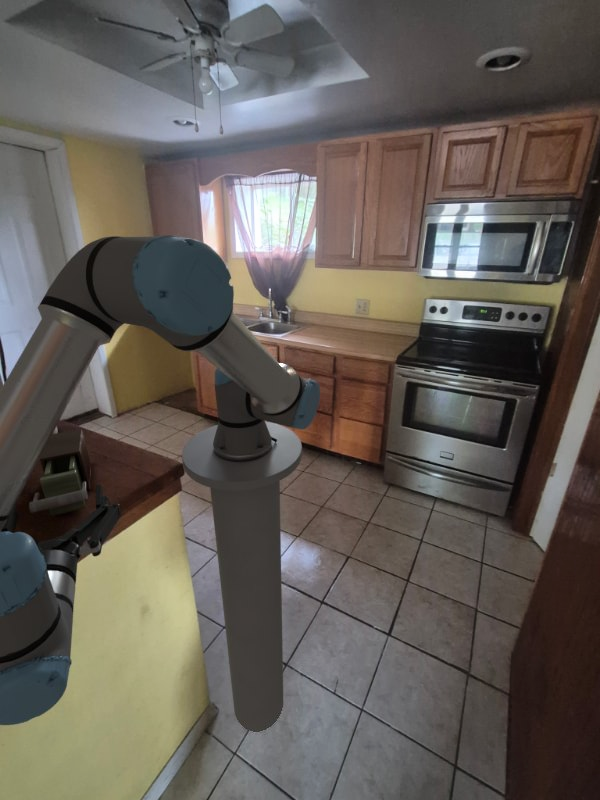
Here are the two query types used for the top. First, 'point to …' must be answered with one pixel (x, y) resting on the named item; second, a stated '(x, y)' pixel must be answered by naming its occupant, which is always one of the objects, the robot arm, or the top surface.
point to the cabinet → (68, 451)
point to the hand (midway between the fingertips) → (58, 500)
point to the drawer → (61, 487)
